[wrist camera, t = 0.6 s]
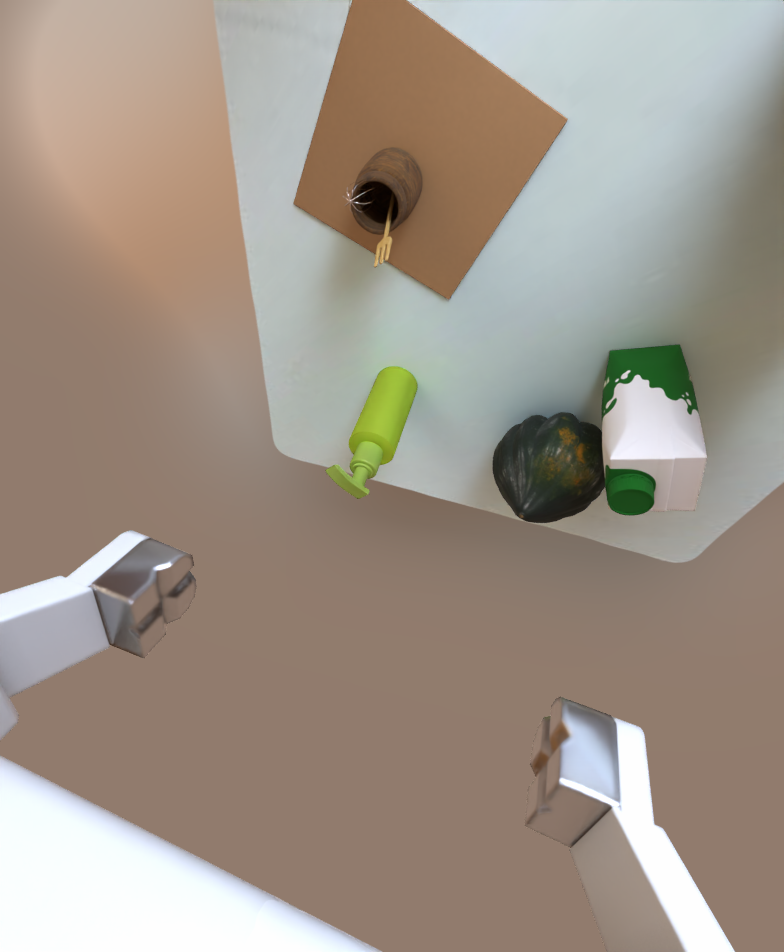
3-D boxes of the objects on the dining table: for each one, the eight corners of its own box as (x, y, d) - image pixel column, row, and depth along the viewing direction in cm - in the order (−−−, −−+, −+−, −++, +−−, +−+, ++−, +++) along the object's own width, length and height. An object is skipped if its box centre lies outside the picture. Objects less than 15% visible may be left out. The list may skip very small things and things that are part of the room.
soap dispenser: (391, 353, 65) (343, 461, 53) (426, 387, 68) (389, 498, 55) (363, 374, 69) (313, 479, 56) (397, 405, 72) (357, 512, 59)
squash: (652, 467, 61) (580, 506, 53) (576, 518, 73) (508, 556, 65) (583, 381, 65) (507, 405, 57) (521, 443, 77) (451, 470, 69)
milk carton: (601, 344, 56) (604, 471, 44) (692, 335, 53) (723, 470, 40) (600, 403, 62) (602, 529, 50) (681, 399, 59) (706, 533, 46)
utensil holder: (403, 130, 45) (366, 176, 38) (436, 195, 49) (408, 249, 41) (355, 165, 49) (312, 214, 41) (389, 224, 52) (355, 278, 45)
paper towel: (362, -33, 38) (361, -33, 38) (567, 118, 42) (567, 119, 42) (294, 203, 53) (293, 203, 53) (449, 298, 57) (448, 299, 57)
